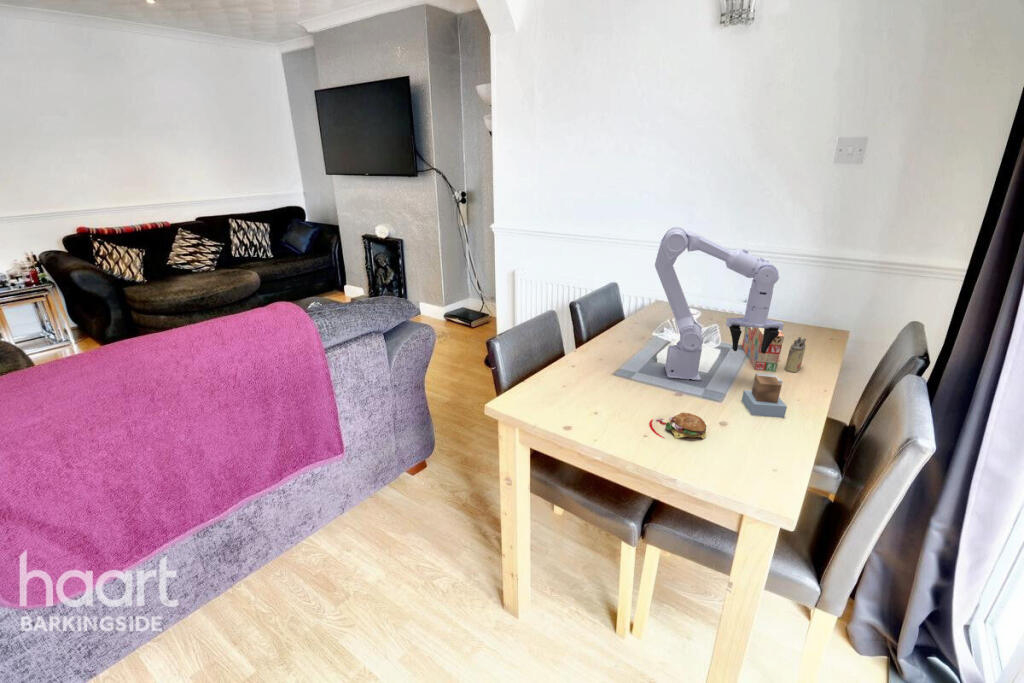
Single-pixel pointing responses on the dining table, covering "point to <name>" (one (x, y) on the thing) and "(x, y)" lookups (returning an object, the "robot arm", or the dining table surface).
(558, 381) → the dining table surface
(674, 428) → the hamburger
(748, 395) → the base block
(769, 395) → the walnut cube
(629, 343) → the dining table surface
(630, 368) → the dining table surface
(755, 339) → the stack of blocks
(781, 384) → the grey cube
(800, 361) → the lighter
